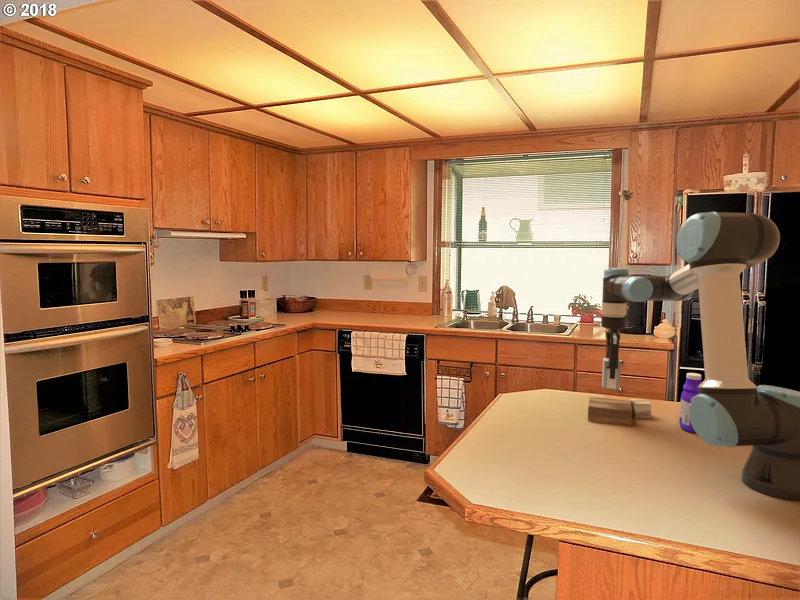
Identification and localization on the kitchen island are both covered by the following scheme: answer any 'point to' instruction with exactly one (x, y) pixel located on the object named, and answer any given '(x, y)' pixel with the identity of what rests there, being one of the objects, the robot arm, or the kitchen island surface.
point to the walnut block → (610, 411)
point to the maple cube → (641, 408)
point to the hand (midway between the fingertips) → (610, 385)
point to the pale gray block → (605, 372)
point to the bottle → (688, 399)
